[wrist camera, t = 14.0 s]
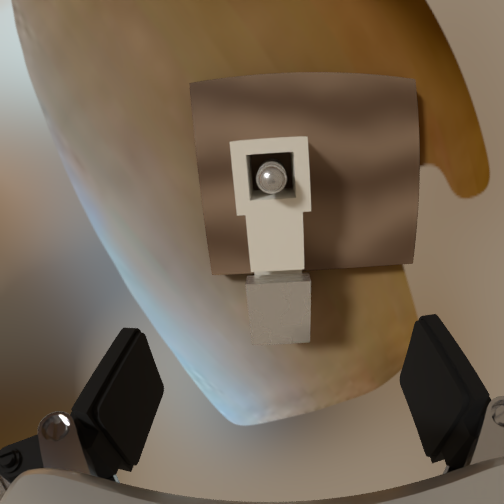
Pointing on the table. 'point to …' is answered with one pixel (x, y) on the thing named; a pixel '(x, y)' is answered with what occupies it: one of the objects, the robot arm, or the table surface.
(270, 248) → the link
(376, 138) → the board
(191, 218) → the table surface
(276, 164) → the cylinder
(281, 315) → the block
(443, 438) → the robot arm
